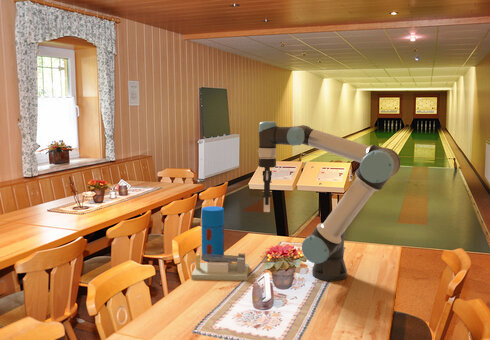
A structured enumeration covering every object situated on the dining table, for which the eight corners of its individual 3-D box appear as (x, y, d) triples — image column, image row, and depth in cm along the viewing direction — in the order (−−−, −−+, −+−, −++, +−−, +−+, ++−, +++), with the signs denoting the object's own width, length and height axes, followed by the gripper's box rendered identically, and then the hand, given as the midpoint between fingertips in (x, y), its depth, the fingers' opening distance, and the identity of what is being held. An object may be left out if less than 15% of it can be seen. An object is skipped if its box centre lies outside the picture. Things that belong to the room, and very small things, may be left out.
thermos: (198, 261, 232) (198, 210, 229) (205, 254, 243) (205, 205, 239) (220, 263, 230) (220, 211, 226) (226, 256, 240) (226, 206, 237)
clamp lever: (243, 259, 217) (243, 255, 217) (243, 263, 213) (243, 258, 212) (202, 257, 218) (202, 253, 218) (201, 260, 214) (201, 256, 213)
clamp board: (248, 267, 223) (248, 250, 222) (247, 280, 208) (247, 261, 207) (197, 266, 225) (196, 249, 224) (191, 279, 209) (191, 260, 208)
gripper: (258, 156, 215) (258, 208, 218) (258, 159, 202) (257, 214, 205) (275, 156, 214) (275, 208, 218) (276, 159, 201) (275, 215, 205)
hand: (266, 211), depth 211 cm, fingers closed
